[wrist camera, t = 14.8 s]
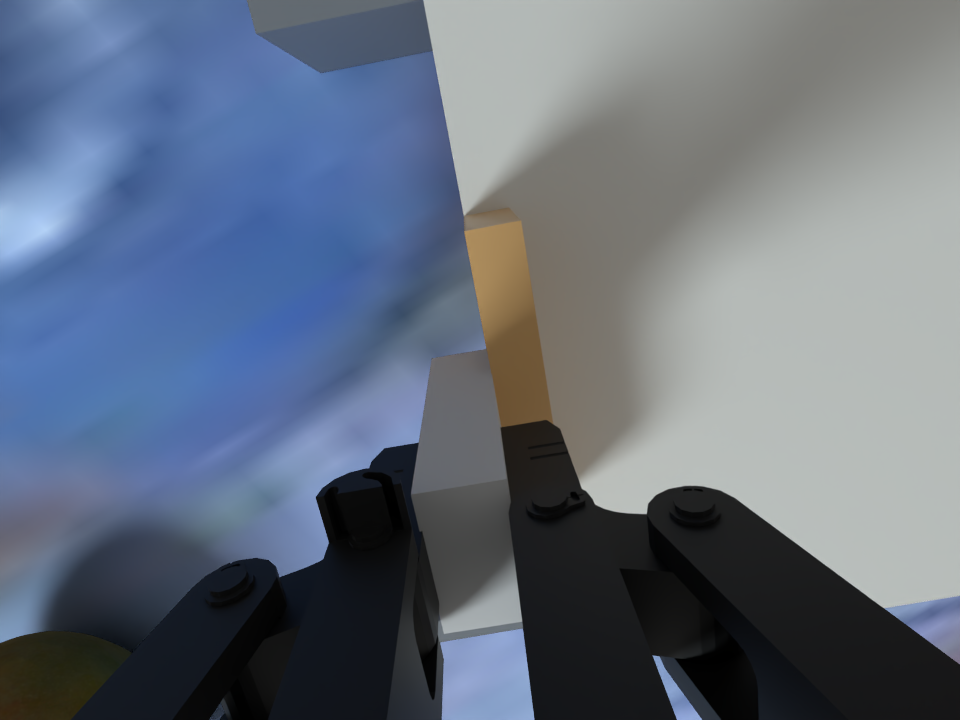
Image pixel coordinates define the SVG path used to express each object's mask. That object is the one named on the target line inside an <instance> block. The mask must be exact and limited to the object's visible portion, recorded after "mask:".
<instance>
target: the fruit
mask: <svg viewBox="0 0 960 720" xmlns="http://www.w3.org/2000/svg"><path fill="white" fill-rule="evenodd" d="M131 654H132V652H130V651H128V650H126V649H125V648H123V647H121V646H119V645H116V644H114V643H112V642H109V641H107V640H104V639H101V638H98V637H95V636H92V635H88V634H83V633H76V632H67V631H46V632H39V633H33V634H27V635H23V636H19V637H16V638H13V639H10V640H7V641H5V642H2V643H0V720H71V719H72V718H73V716H74V715H75V714H76V713H77V712H78V711H79V710H80V709H81V708H82V707H83V706H84V705H85V703H86V702H87V701H88V700H89V699H90V698H91V697H92V696H93V695H94V694H95V693H96V692H97V690H98V689H99V688H100V687H101V686H102V685H103V684H104V683H105V682H106V681H107V680H108V679H109V677H110V676H111V675H112V674H113V673H114V672H115V671H116V670H117V669H118V668H119V667H120V666H121V665H122V663H123V662H124V661H125V660H126V659H127V658H128V657H129V656H130V655H131Z"/></svg>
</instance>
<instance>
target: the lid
mask: <svg viewBox="0 0 960 720" xmlns="http://www.w3.org/2000/svg"><path fill="white" fill-rule="evenodd" d="M423 1H424V7H425V12H426V17H427V23H428V28H429V33H430V39H431V44H432V49H433V54H434V60H435V65H436V70H437V76H438V81H439V86H440V92H441V97H442V102H443V107H444V113H445V118H446V123H447V129H448V134H449V139H450V145H451V150H452V155H453V160H454V166H455V171H456V176H457V182H458V187H459V192H460V198H461V203H462V208H463V213H464V233H465V238H466V243H467V248H468V254H469V259H470V264H471V269H472V275H473V280H474V285H475V290H476V296H477V301H478V306H479V311H480V317H481V322H482V327H483V333H484V338H485V343H486V348H487V354H488V359H489V364H490V369H491V374H492V377H493V383H494V389H495V394H496V400H497V406H498V411H499V417H500V422H501V427H506V426H512V425H518V424H524V423H530V422H536V421H542V420H548V421H549V422H551V423H552V424H554V425H555V426H557V427H558V428H560V430H561V433H562V435H563V438H564V441H565V444H566V446H567V449H568V453H569V455H570V457H571V460H572V463H573V466H574V468H575V471H576V474H577V477H578V479H579V482H580V485H581V488H582V489H583V490H585V491H587V493H588V494H589V495H590V496H591V498H592V499H593V501H594V504H595V505H597V506H599V507H601V508H603V509H607V510H610V511H614V512H621V513H632V514H647V508H648V503H649V502H650V501H651V500H652V499H653V498H654V496H655V495H657V494H659V493H661V492H663V491H665V490H667V489H671V488H676V487H682V486H704V487H708V488H712V489H716V490H721V491H722V492H724V493H726V494H728V495H730V496H732V497H734V498H736V499H737V500H738V501H740V502H741V503H742V504H744V505H745V506H746V507H748V508H749V509H750V510H752V511H753V512H754V513H756V514H757V515H758V516H760V517H761V518H763V519H764V520H765V521H767V522H768V523H769V524H771V525H772V526H773V527H775V528H776V529H777V530H779V531H780V532H781V533H783V534H784V535H785V536H787V537H788V538H790V539H791V540H792V541H794V542H795V543H796V544H798V545H799V546H800V547H802V548H803V549H804V550H806V551H807V552H808V553H810V554H811V555H812V556H814V557H815V558H817V559H818V560H819V561H821V562H822V563H823V564H825V565H826V566H827V567H829V568H830V569H831V570H833V571H834V572H835V573H837V574H838V575H839V576H841V577H842V578H844V579H845V580H846V581H848V582H849V583H850V584H852V585H853V586H854V587H856V588H857V589H858V590H860V591H861V592H862V593H864V594H865V595H866V596H868V597H869V598H871V599H872V600H873V601H875V602H876V603H877V604H879V605H880V606H881V607H883V608H888V607H894V606H900V605H906V604H912V603H918V602H925V601H931V600H937V599H943V598H949V597H955V596H960V0H423Z"/></svg>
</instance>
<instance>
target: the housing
mask: <svg viewBox="0 0 960 720" xmlns="http://www.w3.org/2000/svg"><path fill="white" fill-rule="evenodd" d="M247 2H248V6H249V10H250V13H251V17H252V20H253V24H254V28H255V31H256V34H257V35H259V36H261V37H262V38H264V39H266V40H267V41H269V42H271V43H272V44H274V45H275V46H277V47H279V48H280V49H282V50H284V51H285V52H287V53H289V54H290V55H292V56H293V57H295V58H297V59H298V60H300V61H302V62H303V63H305V64H307V65H308V66H310V67H311V68H313V69H315V70H316V71H318V72H320V73H324V72H329V71H334V70H339V69H344V68H349V67H354V66H359V65H364V64H369V63H374V62H379V61H384V60H389V59H394V58H399V57H404V56H409V55H413V54H418V53H423V52H428V51H433V49H432V44H431V39H430V33H429V28H428V23H427V17H426V12H425V7H424V1H423V0H247ZM522 628H523V624H522V622H517V623H511V624H504V625H498V626H492V627H485V628H479V629H472V630H466V631H460V632H453V633H447V634H444V632H443V628H442V624H441V620H440V615H439V619H438V637H439V641H440V642H444V641H450V640H456V639H462V638H468V637H474V636H480V635H486V634H492V633H498V632H504V631H510V630H516V629H522Z"/></svg>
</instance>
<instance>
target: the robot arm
mask: <svg viewBox="0 0 960 720" xmlns="http://www.w3.org/2000/svg"><path fill="white" fill-rule="evenodd" d="M316 500H317V504H318V507H319V510H320V514H321V517H322V520H323V524H324V527H325V530H326V534H327V537H328V540H329V544H328V547H327V550H326V553H325V556H324V559H323V560H321V561H320V562H318V563H315V564H313V565H311V566H309V567H306V568H304V569H301V570H298V571H296V572H293V573H290V574H287V575H285V576H282V577H279V574H278V572H277V569H276V566H275V565H273V564H272V563H271V562H270V561H269V560H264V559H258V558H253V559H246V560H239V561H235V562H232V563H231V564H230V563H229V564H226V565H224V566H222V567H220V568H219V569H217V570H216V571H214V572H212V573H210V574H209V575H207V576H205V577H204V578H203V579H202V580H201V581H200V582H199V583H197V584H196V585H195V586H194V587H193V588H192V589H191V590H190V591H189V592H188V593H187V594H186V595H185V596H184V597H183V599H182V600H181V601H180V602H179V603H178V604H177V605H176V606H175V607H174V608H173V609H172V610H171V611H170V613H169V614H168V615H167V616H166V617H165V618H164V619H163V620H162V621H161V622H160V623H159V624H158V626H157V627H156V628H155V629H154V630H153V631H152V632H151V633H150V634H149V635H148V636H147V637H146V639H145V640H144V641H143V642H142V643H141V644H140V645H139V646H138V647H137V648H136V649H135V650H134V652H133V653H132V654H131V655H130V656H129V657H128V658H127V659H126V660H125V661H124V662H123V663H122V665H121V666H120V667H119V668H118V669H117V670H116V671H115V672H114V673H113V674H112V675H111V676H110V677H109V679H108V680H107V681H106V682H105V683H104V684H103V685H102V686H101V687H100V688H99V689H98V690H97V692H96V693H95V694H94V695H93V696H92V697H91V698H90V699H89V700H88V701H87V702H86V703H85V705H84V706H83V707H82V708H81V709H80V710H79V711H78V712H77V713H76V714H75V715H74V716H73V718H72V719H71V720H209V719H210V717H211V716H212V714H213V713H214V711H215V710H216V708H217V707H218V705H219V704H220V703H221V704H222V707H223V709H224V712H225V713H224V714H223V716H222V717H221V719H220V720H442V692H443V663H444V659H443V654H442V650H441V645H440V641H439V637H438V619H439V615H440V620H441V624H442V628H443V632H444V634H447V633H453V632H460V631H466V630H472V629H479V628H485V627H492V626H498V625H504V624H511V623H517V622H522V624H523V632H524V639H525V647H526V655H527V663H528V671H529V679H530V687H531V695H532V703H533V710H534V718H535V720H677V719H676V716H675V714H674V711H673V708H672V706H671V703H670V701H669V698H668V695H667V693H666V690H665V687H664V685H663V682H662V680H661V677H660V674H659V672H658V669H657V666H656V664H655V661H654V659H653V656H652V655H655V656H660V658H661V660H662V662H663V665H664V667H665V669H666V670H667V672H668V673H669V674H670V676H671V677H672V678H673V680H674V681H675V683H676V684H677V685H678V687H679V688H680V689H681V691H682V692H683V694H684V695H685V696H686V698H687V699H688V700H689V702H690V703H691V705H692V706H693V707H694V709H695V710H696V712H697V713H698V714H699V716H700V717H701V718H702V720H960V664H958V663H957V662H956V661H954V660H953V659H951V658H950V657H949V656H947V655H946V654H945V653H943V652H942V651H941V650H939V649H938V648H937V647H935V646H934V645H933V644H931V643H930V642H929V641H927V640H926V639H925V638H923V637H922V636H920V635H919V634H918V633H916V632H915V631H914V630H912V629H911V628H910V627H908V626H907V625H906V624H904V623H903V622H902V621H900V620H899V619H898V618H896V617H895V616H893V615H892V614H891V613H889V612H888V611H887V610H885V609H884V608H883V607H881V606H880V605H879V604H877V603H876V602H875V601H873V600H872V599H871V598H869V597H868V596H866V595H865V594H864V593H862V592H861V591H860V590H858V589H857V588H856V587H854V586H853V585H852V584H850V583H849V582H848V581H846V580H845V579H844V578H842V577H841V576H839V575H838V574H837V573H835V572H834V571H833V570H831V569H830V568H829V567H827V566H826V565H825V564H823V563H822V562H821V561H819V560H818V559H817V558H815V557H814V556H812V555H811V554H810V553H808V552H807V551H806V550H804V549H803V548H802V547H800V546H799V545H798V544H796V543H795V542H794V541H792V540H791V539H790V538H788V537H787V536H785V535H784V534H783V533H781V532H780V531H779V530H777V529H776V528H775V527H773V526H772V525H771V524H769V523H768V522H767V521H765V520H764V519H763V518H761V517H760V516H758V515H757V514H756V513H754V512H753V511H752V510H750V509H749V508H748V507H746V506H745V505H744V504H742V503H741V502H740V501H738V500H737V499H736V498H734V497H732V496H730V495H728V494H726V493H724V492H722V491H721V490H716V489H712V488H708V487H704V486H682V487H676V488H671V489H667V490H665V491H663V492H661V493H659V494H657V495H655V496H654V498H653V499H652V500H651V501H650V502H649V503H648V508H647V514H632V513H621V512H614V511H610V510H607V509H603V508H601V507H599V506H597V505H595V504H594V501H593V499H592V498H591V496H590V495H589V494H588V493H587V491H585V490H583V489H582V488H581V485H580V482H579V479H578V477H577V474H576V471H575V468H574V466H573V463H572V460H571V457H570V455H569V453H568V449H567V446H566V444H565V441H564V438H563V435H562V433H561V430H560V428H558V427H557V426H555V425H554V424H552V423H551V422H549V421H548V420H542V421H536V422H530V423H524V424H518V425H512V426H506V427H501V422H500V417H499V411H498V406H497V400H496V394H495V389H494V383H493V377H492V374H491V369H490V364H489V359H488V354H487V349H484V350H478V351H472V352H466V353H461V354H455V355H449V356H443V357H437V358H432V361H431V367H430V374H429V380H428V387H427V393H426V400H425V406H424V413H423V419H422V426H421V432H420V438H419V443H414V444H408V445H402V446H396V447H390V448H384V449H383V450H382V451H381V453H380V454H379V455H378V456H377V457H376V458H375V459H374V460H373V461H372V462H371V465H370V468H369V469H362V470H358V471H354V472H350V473H348V474H345V475H343V476H341V477H339V478H337V479H334V480H333V481H332V482H330V483H329V484H328V485H326V486H325V487H323V488H322V490H321V491H320V492H319V494H318V495H317V496H316Z"/></svg>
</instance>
